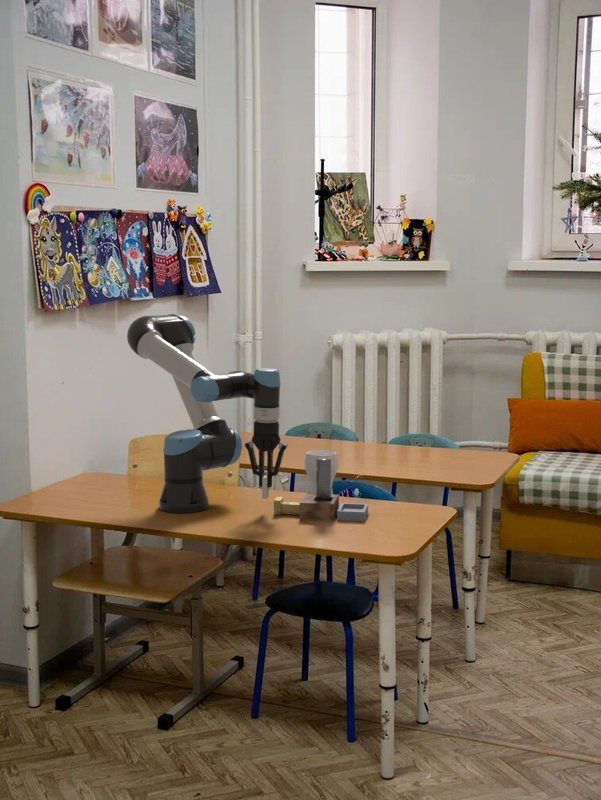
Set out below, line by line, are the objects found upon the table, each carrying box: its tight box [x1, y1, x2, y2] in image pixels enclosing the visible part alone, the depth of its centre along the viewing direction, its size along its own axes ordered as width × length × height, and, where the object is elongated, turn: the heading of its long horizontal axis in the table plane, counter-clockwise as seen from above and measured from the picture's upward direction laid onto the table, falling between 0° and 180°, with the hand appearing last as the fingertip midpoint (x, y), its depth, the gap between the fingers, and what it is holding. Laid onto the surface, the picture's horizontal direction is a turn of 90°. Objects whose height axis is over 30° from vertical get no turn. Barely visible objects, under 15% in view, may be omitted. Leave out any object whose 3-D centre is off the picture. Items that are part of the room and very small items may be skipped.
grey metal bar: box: [316, 458, 331, 501], centre depth 298 cm, size 4×4×17 cm
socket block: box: [299, 492, 340, 522], centre depth 299 cm, size 10×12×5 cm
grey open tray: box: [336, 502, 369, 522], centre depth 297 cm, size 8×10×3 cm
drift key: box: [273, 496, 300, 516], centre depth 300 cm, size 12×5×4 cm, turn 80°
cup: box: [304, 449, 339, 494], centre depth 318 cm, size 11×11×15 cm
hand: (265, 497), depth 302 cm, fingers closed
